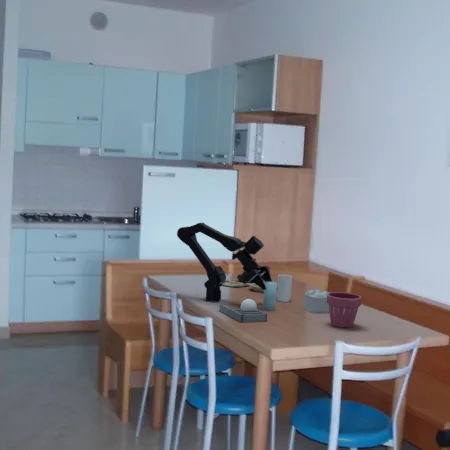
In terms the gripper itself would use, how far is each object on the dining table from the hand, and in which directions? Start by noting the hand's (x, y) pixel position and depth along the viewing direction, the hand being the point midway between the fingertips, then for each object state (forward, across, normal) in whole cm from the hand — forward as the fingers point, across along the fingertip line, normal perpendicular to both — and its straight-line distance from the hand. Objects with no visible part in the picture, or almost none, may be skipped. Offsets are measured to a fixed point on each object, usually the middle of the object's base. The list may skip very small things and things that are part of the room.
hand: (268, 288), depth 315 cm
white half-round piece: (+6, +21, -8) cm, 23 cm away
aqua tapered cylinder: (+7, 0, -6) cm, 9 cm away
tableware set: (-10, -48, -24) cm, 55 cm away
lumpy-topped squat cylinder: (+20, -13, +6) cm, 25 cm away
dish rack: (+4, +21, -9) cm, 23 cm away
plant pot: (+33, +10, +18) cm, 39 cm away
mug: (+6, -24, -7) cm, 26 cm away
